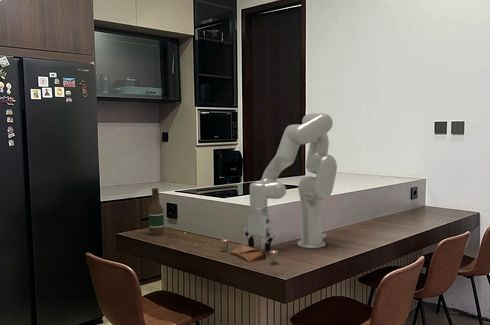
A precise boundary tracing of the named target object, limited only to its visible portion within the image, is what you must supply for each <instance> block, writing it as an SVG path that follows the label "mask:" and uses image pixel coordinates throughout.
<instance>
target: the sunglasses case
mask: <svg viewBox="0 0 490 325" xmlns="http://www.w3.org/2000/svg"><path fill="white" fill-rule="evenodd" d="M228 254H229V255H232V256H235V257H237V258H239V259H241V260H243V261H246V263H254V262H255V263H256V262H259V261H264V260H266V259H267V255H266V252H265V251H262V250H259V249H256V248H254V247H253V248H252V247H249V246H248V244H247V245H246V244H244V243H242V242H241V244H239V245H238V246H237V247H236V248H234V249H233V250H231V251H230V252H228Z"/></svg>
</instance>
